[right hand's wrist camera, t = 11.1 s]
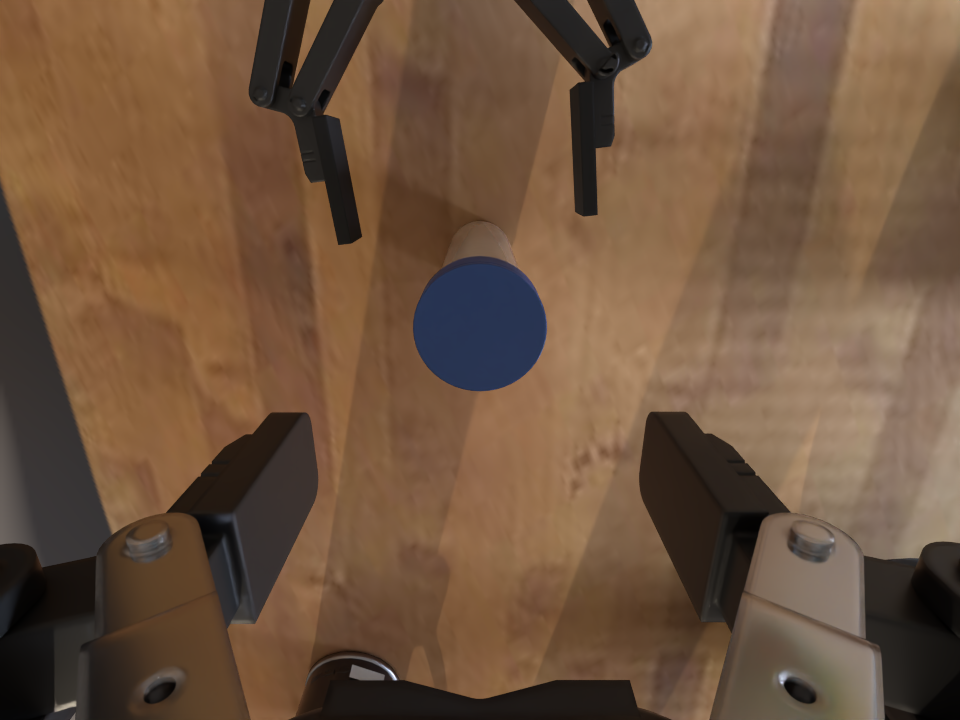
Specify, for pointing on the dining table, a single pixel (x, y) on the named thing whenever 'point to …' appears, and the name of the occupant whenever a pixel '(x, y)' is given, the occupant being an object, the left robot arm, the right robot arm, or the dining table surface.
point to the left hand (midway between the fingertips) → (467, 228)
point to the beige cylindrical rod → (480, 243)
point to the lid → (480, 324)
